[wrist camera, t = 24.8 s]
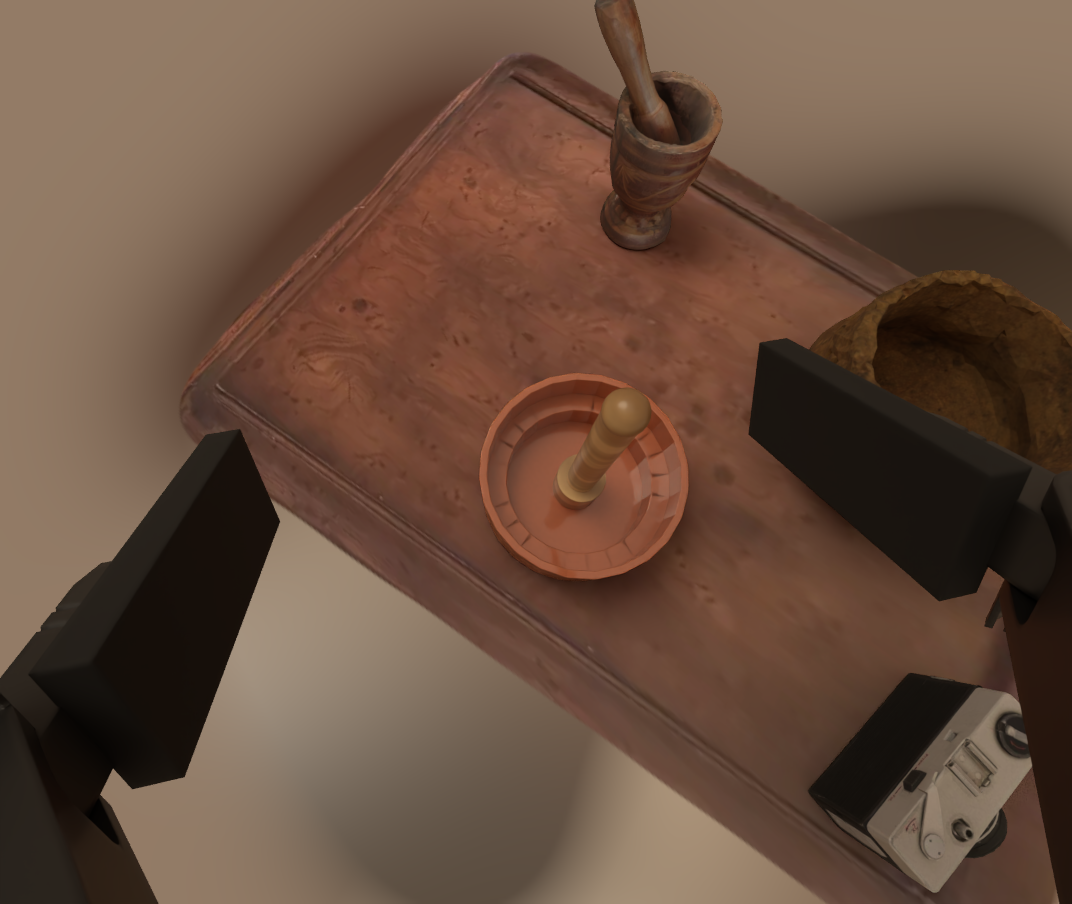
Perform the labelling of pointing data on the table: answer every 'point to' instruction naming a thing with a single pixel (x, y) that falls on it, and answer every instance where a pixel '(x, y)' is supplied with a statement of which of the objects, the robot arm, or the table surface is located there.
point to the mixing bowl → (613, 517)
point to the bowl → (968, 359)
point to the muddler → (601, 448)
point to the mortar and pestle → (651, 134)
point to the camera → (929, 776)
